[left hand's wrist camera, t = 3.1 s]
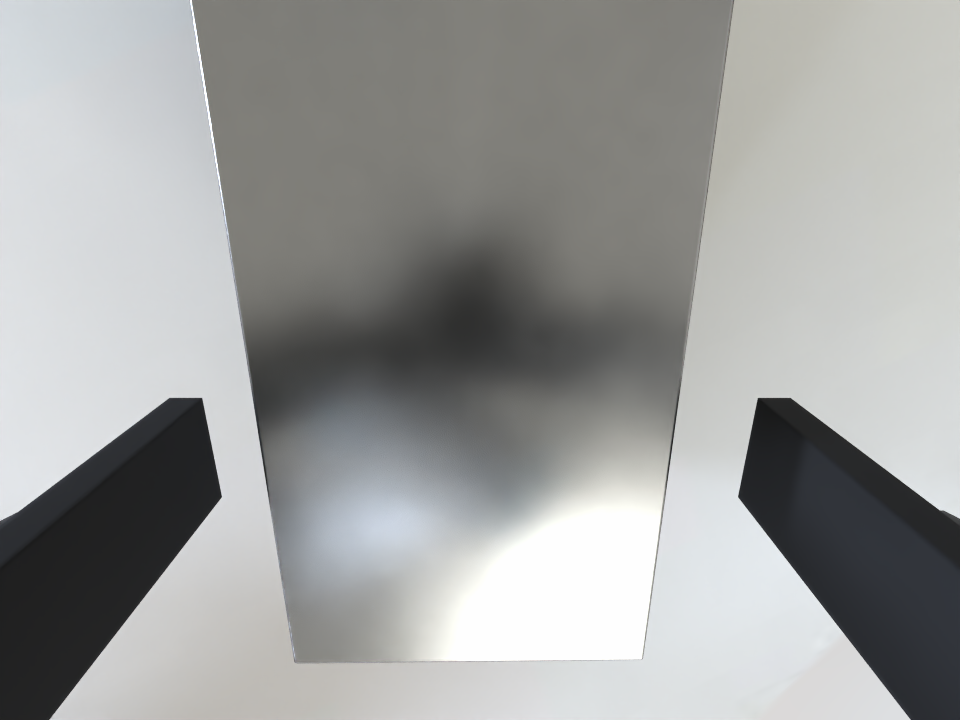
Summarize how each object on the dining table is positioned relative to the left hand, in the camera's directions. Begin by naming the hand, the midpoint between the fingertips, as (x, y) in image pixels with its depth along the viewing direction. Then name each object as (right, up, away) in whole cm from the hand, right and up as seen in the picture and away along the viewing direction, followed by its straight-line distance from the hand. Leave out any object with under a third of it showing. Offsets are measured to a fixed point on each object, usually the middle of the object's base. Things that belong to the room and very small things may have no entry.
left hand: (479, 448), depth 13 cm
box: (0, +11, +6) cm, 13 cm away
